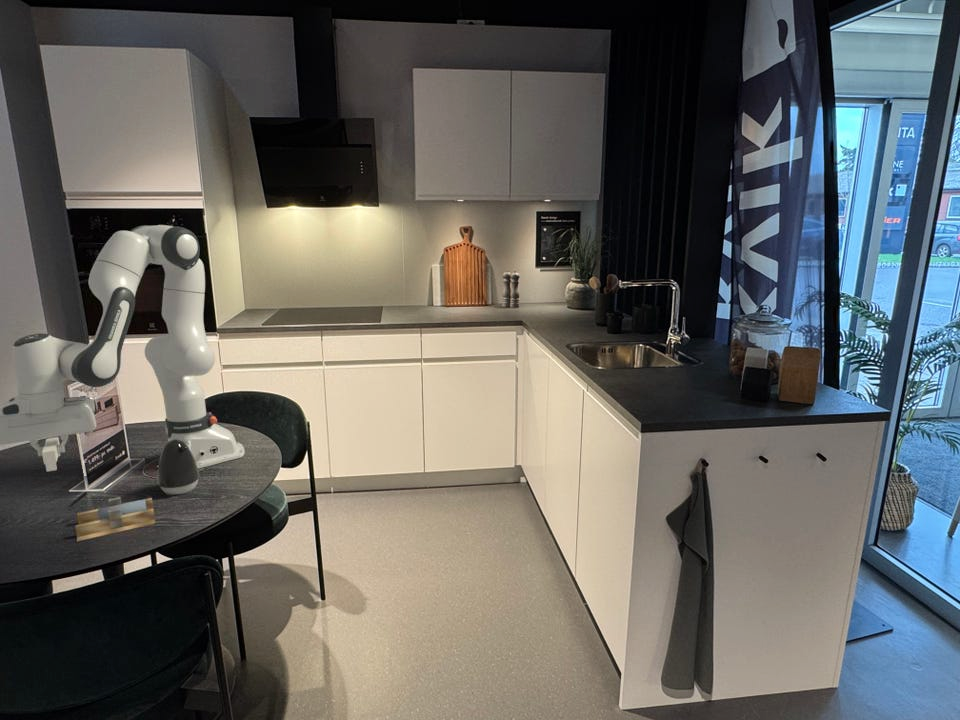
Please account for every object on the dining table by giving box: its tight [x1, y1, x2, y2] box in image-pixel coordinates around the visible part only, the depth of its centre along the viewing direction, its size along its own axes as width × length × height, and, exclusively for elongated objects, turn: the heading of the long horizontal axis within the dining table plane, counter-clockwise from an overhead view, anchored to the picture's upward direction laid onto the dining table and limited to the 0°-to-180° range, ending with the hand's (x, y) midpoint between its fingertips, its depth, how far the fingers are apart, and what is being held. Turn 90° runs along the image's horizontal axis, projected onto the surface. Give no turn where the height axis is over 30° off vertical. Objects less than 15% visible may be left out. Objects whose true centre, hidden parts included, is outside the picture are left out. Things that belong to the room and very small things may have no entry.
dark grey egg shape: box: [157, 440, 200, 496], centre depth 160 cm, size 10×10×15 cm
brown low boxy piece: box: [75, 496, 156, 542], centre depth 142 cm, size 24×12×6 cm, turn 121°
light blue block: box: [97, 498, 147, 520], centre depth 145 cm, size 10×4×4 cm, turn 121°
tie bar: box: [42, 436, 61, 473], centre depth 146 cm, size 2×10×5 cm, turn 31°
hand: (52, 453), depth 146 cm, fingers closed on tie bar, 2 cm apart
